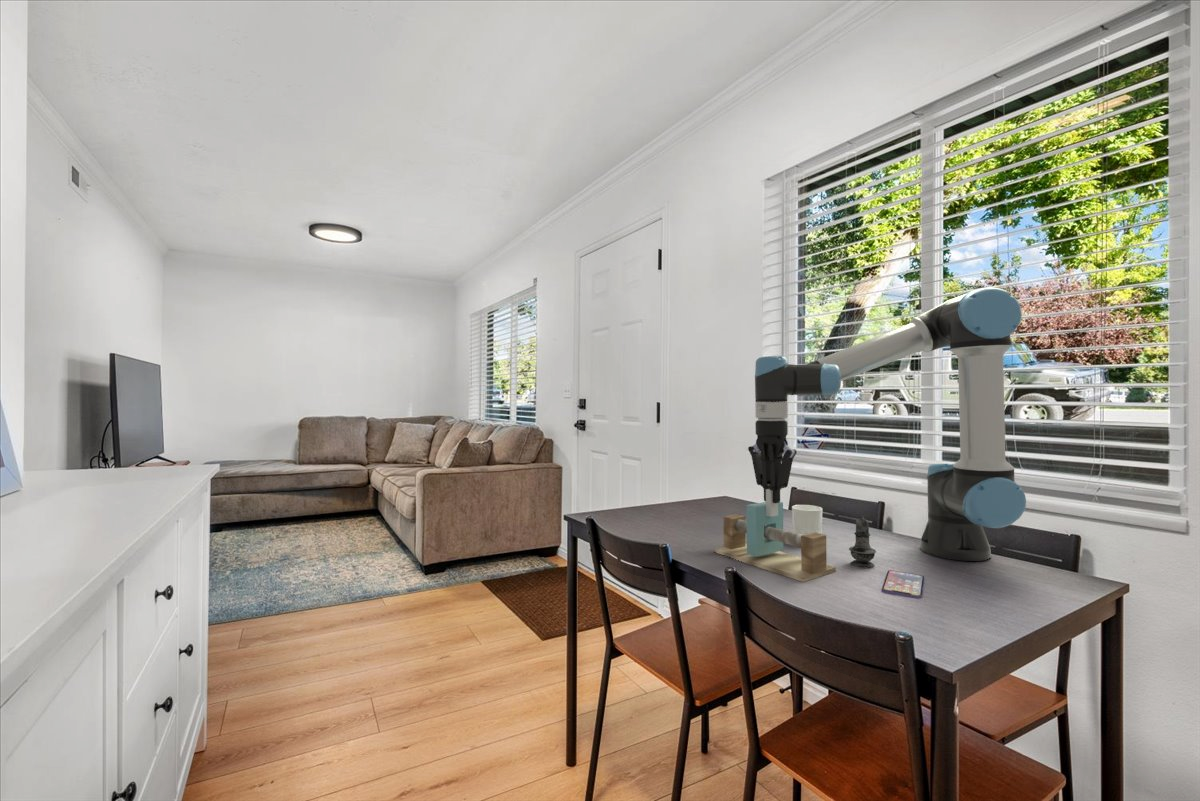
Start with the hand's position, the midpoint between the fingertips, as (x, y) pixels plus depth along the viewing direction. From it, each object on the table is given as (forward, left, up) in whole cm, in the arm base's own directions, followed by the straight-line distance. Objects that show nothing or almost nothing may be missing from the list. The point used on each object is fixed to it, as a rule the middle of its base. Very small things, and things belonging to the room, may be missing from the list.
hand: (772, 515), depth 133 cm
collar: (+2, 0, -10) cm, 10 cm away
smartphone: (-27, -10, -12) cm, 31 cm away
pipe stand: (0, 0, -12) cm, 12 cm away
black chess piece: (-14, -16, -12) cm, 24 cm away
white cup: (+5, -21, -12) cm, 25 cm away
